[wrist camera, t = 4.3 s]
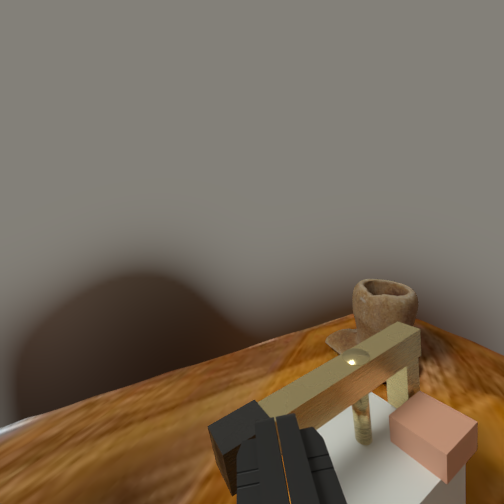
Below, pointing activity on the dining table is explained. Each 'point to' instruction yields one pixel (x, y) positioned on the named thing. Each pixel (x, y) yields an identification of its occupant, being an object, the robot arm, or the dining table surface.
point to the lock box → (383, 464)
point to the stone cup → (376, 311)
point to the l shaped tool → (329, 394)
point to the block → (434, 435)
